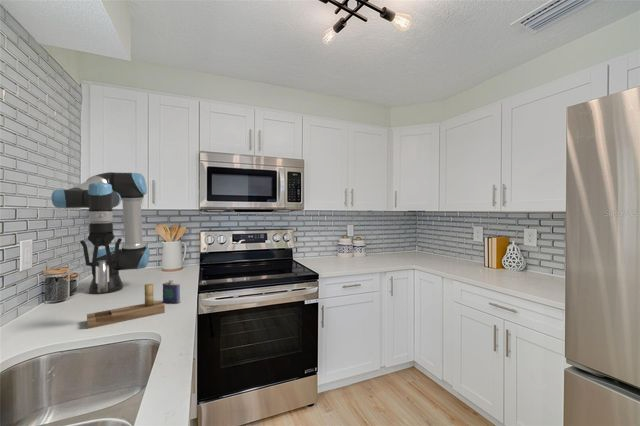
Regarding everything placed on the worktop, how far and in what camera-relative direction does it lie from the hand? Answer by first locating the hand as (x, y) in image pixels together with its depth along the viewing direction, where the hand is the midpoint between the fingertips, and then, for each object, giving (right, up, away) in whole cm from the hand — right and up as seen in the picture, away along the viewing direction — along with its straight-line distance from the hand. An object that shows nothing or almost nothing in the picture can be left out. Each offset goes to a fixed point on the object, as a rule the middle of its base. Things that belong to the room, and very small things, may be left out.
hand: (102, 281), depth 117 cm
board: (+6, -16, +6) cm, 18 cm away
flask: (+15, -16, +24) cm, 32 cm away
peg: (0, -4, 0) cm, 4 cm away
